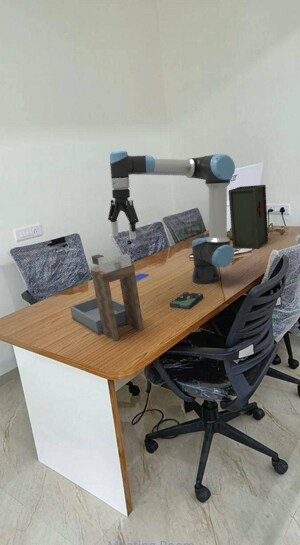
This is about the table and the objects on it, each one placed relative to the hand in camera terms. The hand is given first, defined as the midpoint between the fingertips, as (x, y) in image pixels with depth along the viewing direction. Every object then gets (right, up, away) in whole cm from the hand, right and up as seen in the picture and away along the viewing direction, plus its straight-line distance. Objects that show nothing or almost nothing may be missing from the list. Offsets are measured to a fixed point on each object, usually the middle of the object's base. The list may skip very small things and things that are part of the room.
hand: (123, 237), depth 165 cm
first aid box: (+83, +4, +96) cm, 127 cm away
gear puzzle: (+66, +11, +132) cm, 148 cm away
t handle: (-6, -13, -14) cm, 20 cm away
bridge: (0, -40, -10) cm, 41 cm away
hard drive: (+5, -20, +58) cm, 62 cm away
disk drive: (+29, -30, +11) cm, 44 cm away
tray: (-10, -37, +5) cm, 39 cm away
